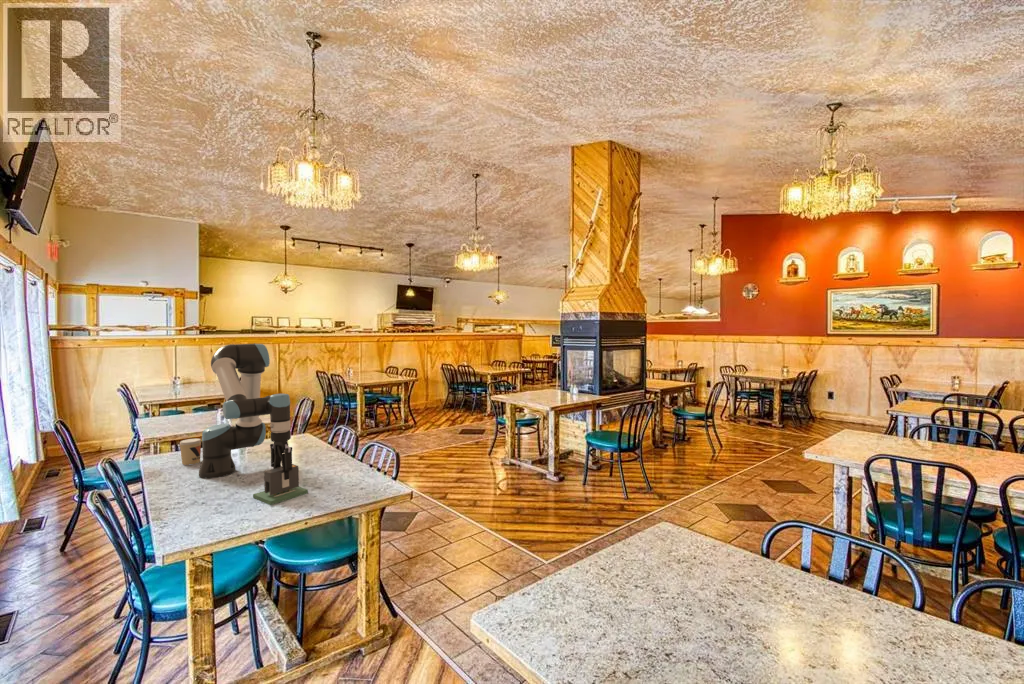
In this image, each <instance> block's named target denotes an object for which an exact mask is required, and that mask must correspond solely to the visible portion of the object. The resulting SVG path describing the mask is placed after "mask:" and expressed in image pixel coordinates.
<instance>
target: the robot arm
mask: <svg viewBox="0 0 1024 684" xmlns="http://www.w3.org/2000/svg"><path fill="white" fill-rule="evenodd" d="M270 361H271V360H270V353H269V351H268V348H267V346H266V345H265V344H263V343H243V344H241V343H240V344H239V343H237V344H232V343H231V344H227V345H224V346H222V347H220V348H218V349H217V350H216V351H214V354H213V355H212V357H211V361H210V366H211V371H212V372H213V373H214V374H215V375H216V377H217V380H218V382H219V385H220V388H221V390H222V394H223V397H224V400H225V401H224V402H223V403H222V415H223V418H224V419H226V420H232V419H233V420H234V419H236V420H235V424H234V425H231V424H230V423H219V424H215V425H212V426H208V427H207V428H205V429H204V430H203V431H202V435H201V449H202V460H201V461H202V462H201V464H200V468H199V469H198V477H199V478H201V479H215V478H221V477H225V476H228V475H231V474H234V473H235V472H236V464H235V462H234V460H233V458H232V451H233V450H238V449H245V448H254V447H256V446H257V447H258V446H260V445H262V444H263V443H264V441H265V439H266V436H267V435H266V430H267V429H266V424H265V422H263V420H262V418H260V416H267V415H270V416H269V417H270V418H269V419H270V424H269V427H270V441H271V442H273V443H270V444H269V448H270V467H271V468H272V469H275V468H278V467H282V469H283V471H282V472H281V473H282V488H285V487H288V486H289V471H291V470H292V464H293V447H292V446H289V440H291V437H292V436H291V435H292V433H291V400H290V399H291V398H290V394H288V393H275V394H271V395H267V396H265V397H263V396H262V397H261V384H262V383H261V381H262V380H261V379H262V374H263V373H264V372H265V371H266V370H265V369H266V368H268V367H269V366H270ZM238 373H239V374H240V377H239V375H238Z"/></svg>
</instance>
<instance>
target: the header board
mask: <svg viewBox="0 0 1024 684" xmlns="http://www.w3.org/2000/svg"><path fill="white" fill-rule="evenodd" d="M306 494H309V489H308V488H304V487H301V486H299V487H296V488H293V489H289V490H286V491H283V492H279V493H276V494H273V495H270V492H268V493H265V490H263V491H260V492H257V493H253V494H252V498H253V499H255V500H258V501H259V502H262V503H265V504H267V505H269V506H272V505H275V504H278V503H281V502H284V501H287V500H291V499H293V498H296V497H300V496H303V495H306Z"/></svg>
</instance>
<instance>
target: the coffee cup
mask: <svg viewBox="0 0 1024 684" xmlns="http://www.w3.org/2000/svg"><path fill="white" fill-rule="evenodd" d="M179 447H180V449H179V450H180V456H181V464H184V465H183V466H190V465H189V464H193V465H197V464H199V463H200V462H201V454H202V453H201V451H202V450H201V449H202V438H188V439H183V440H180V442H179ZM196 463H197V464H196Z"/></svg>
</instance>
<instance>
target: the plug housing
mask: <svg viewBox="0 0 1024 684" xmlns="http://www.w3.org/2000/svg"><path fill="white" fill-rule="evenodd" d="M282 471H283V469H282V467H278V468H275V469H273V468H271V469H267V470H265V471H263V480H264V483H263V485H264V491H265V493H268V492H270V495H273V494H276V493H279V492H283V491H286V490H289V489H293V488H296V487H300V479H299V478H300V476H299V465H297V464H294V463H292V470H291V471H289V486H288V487H285V488H282V473H281V472H282Z"/></svg>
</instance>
